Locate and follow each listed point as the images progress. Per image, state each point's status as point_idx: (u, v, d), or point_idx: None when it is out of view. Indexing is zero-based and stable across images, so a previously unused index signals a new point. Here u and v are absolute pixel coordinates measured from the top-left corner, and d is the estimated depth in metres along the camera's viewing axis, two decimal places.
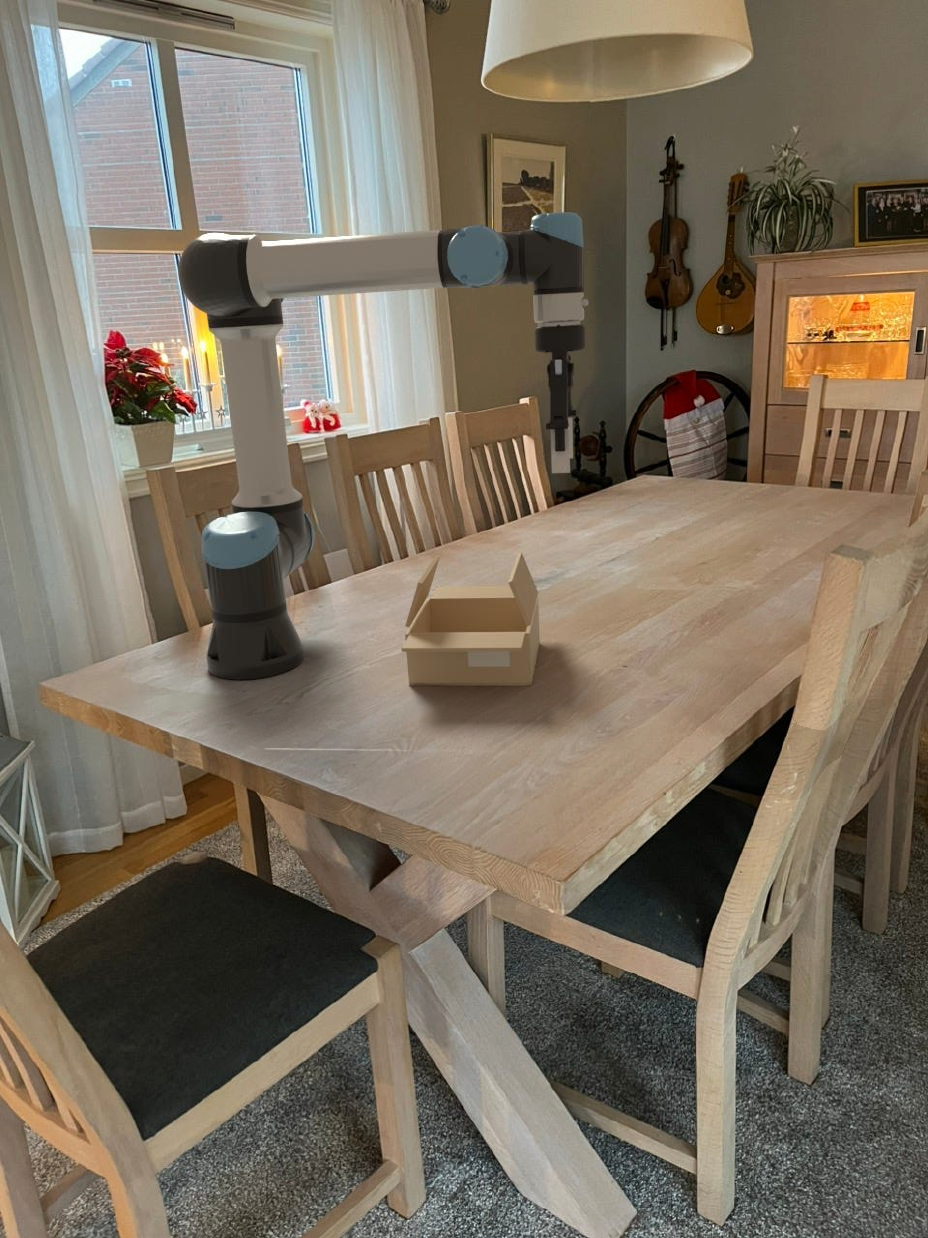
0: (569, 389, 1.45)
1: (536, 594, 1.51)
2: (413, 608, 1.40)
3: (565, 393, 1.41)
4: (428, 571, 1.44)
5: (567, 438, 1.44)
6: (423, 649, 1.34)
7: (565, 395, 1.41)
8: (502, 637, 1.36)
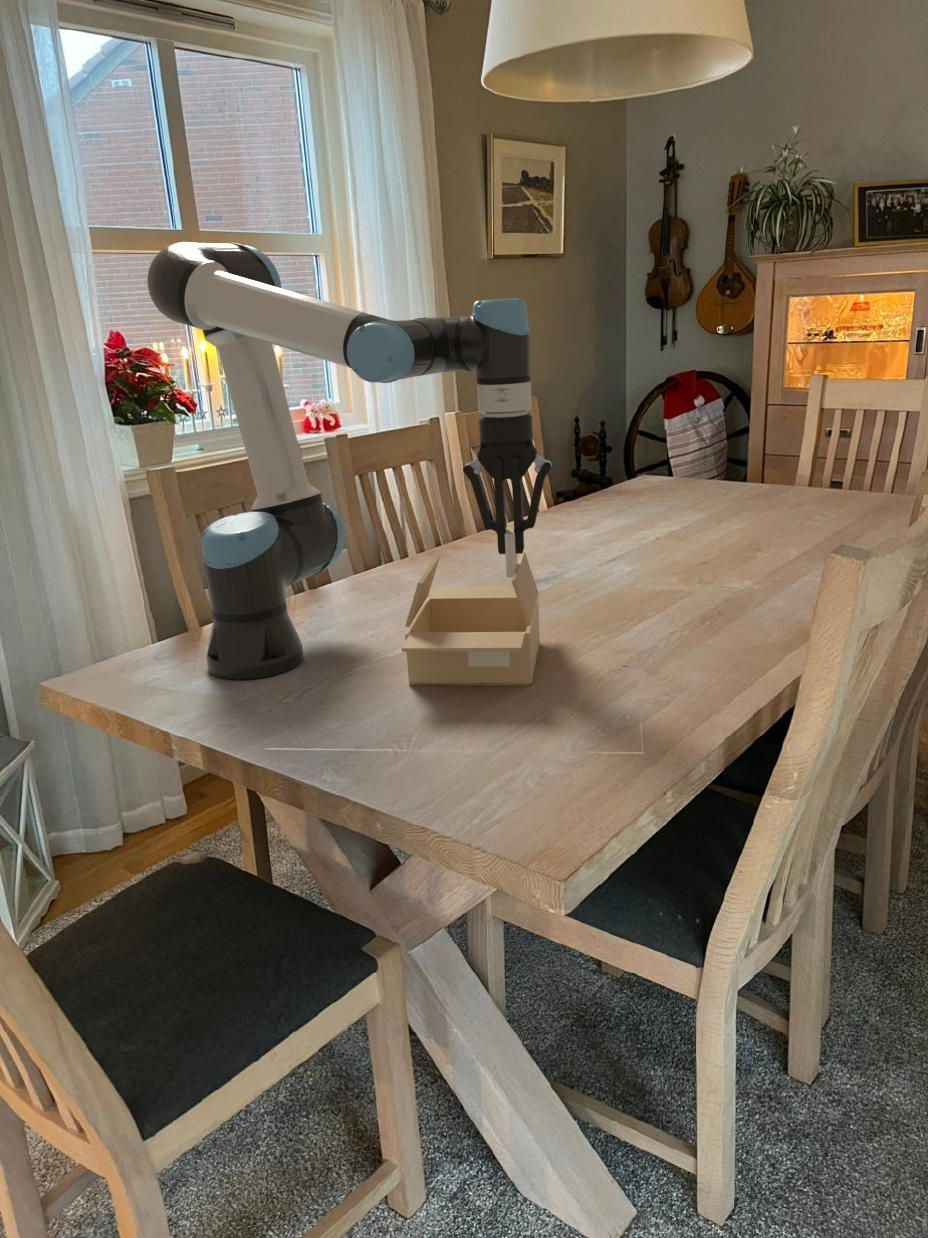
0: (499, 487, 1.39)
1: (536, 594, 1.51)
2: (413, 608, 1.40)
3: (476, 499, 1.40)
4: (428, 571, 1.44)
5: (505, 543, 1.42)
6: (423, 649, 1.34)
7: (477, 501, 1.40)
8: (502, 637, 1.36)
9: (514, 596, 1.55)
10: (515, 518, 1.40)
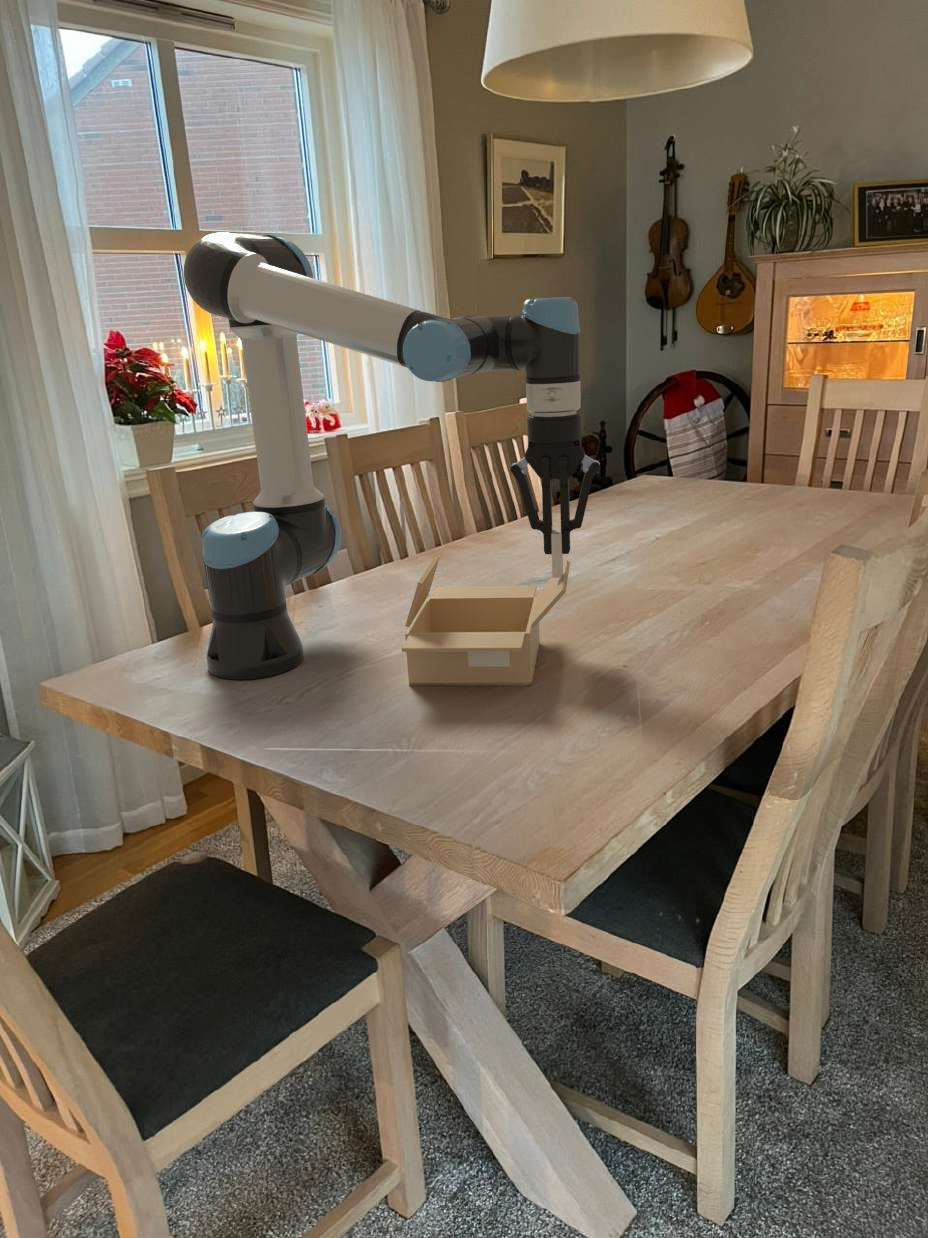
0: (547, 486, 1.38)
1: None
2: (413, 608, 1.40)
3: (523, 499, 1.39)
4: (428, 571, 1.44)
5: (551, 543, 1.41)
6: (423, 649, 1.34)
7: None
8: (502, 637, 1.36)
9: (514, 596, 1.55)
10: (562, 518, 1.39)
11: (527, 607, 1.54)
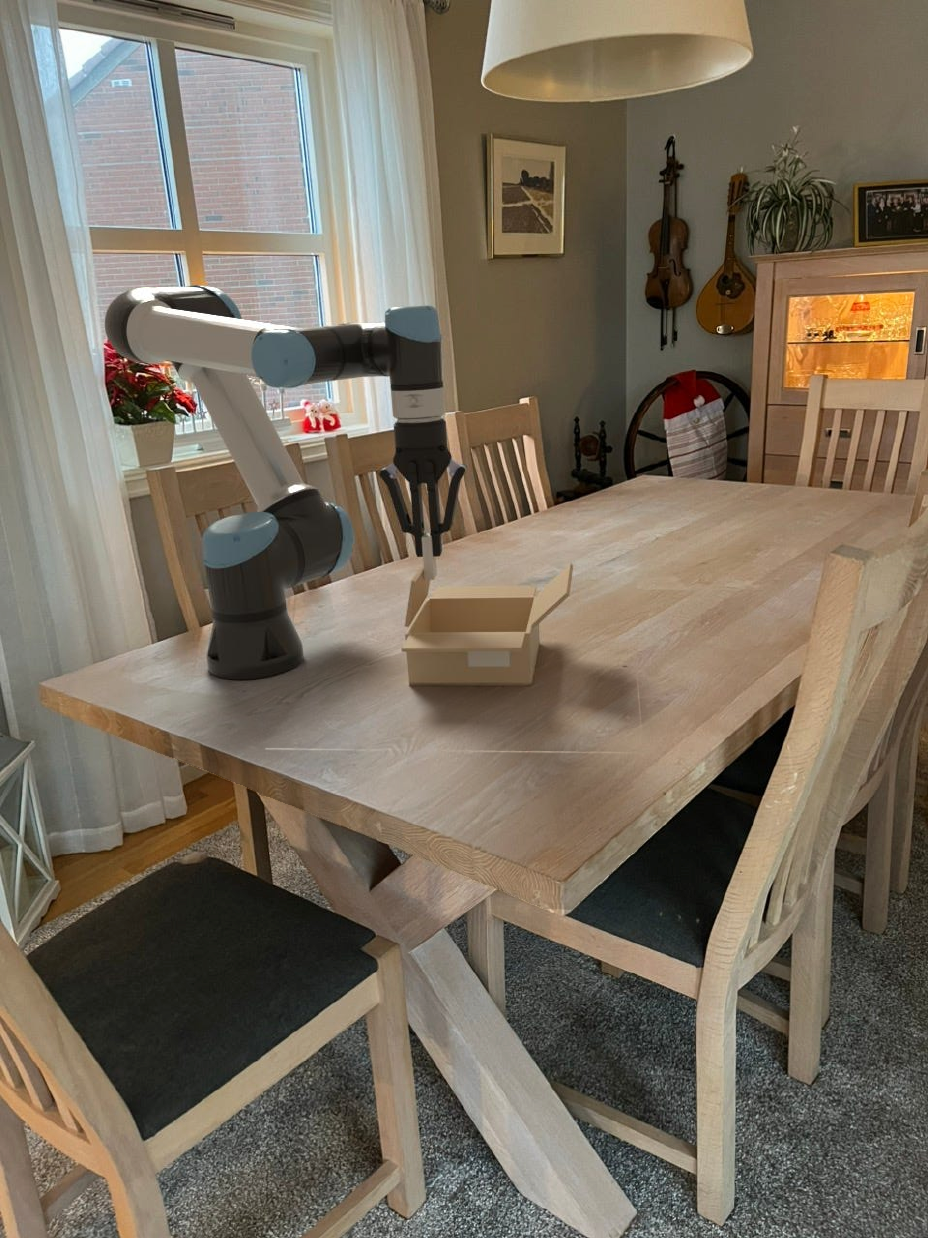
0: (415, 491, 1.41)
1: None
2: (410, 607, 1.40)
3: (393, 503, 1.42)
4: (422, 569, 1.44)
5: (422, 546, 1.44)
6: (423, 649, 1.34)
7: (394, 505, 1.42)
8: (502, 637, 1.36)
9: (514, 596, 1.55)
10: (431, 522, 1.42)
11: (527, 607, 1.54)
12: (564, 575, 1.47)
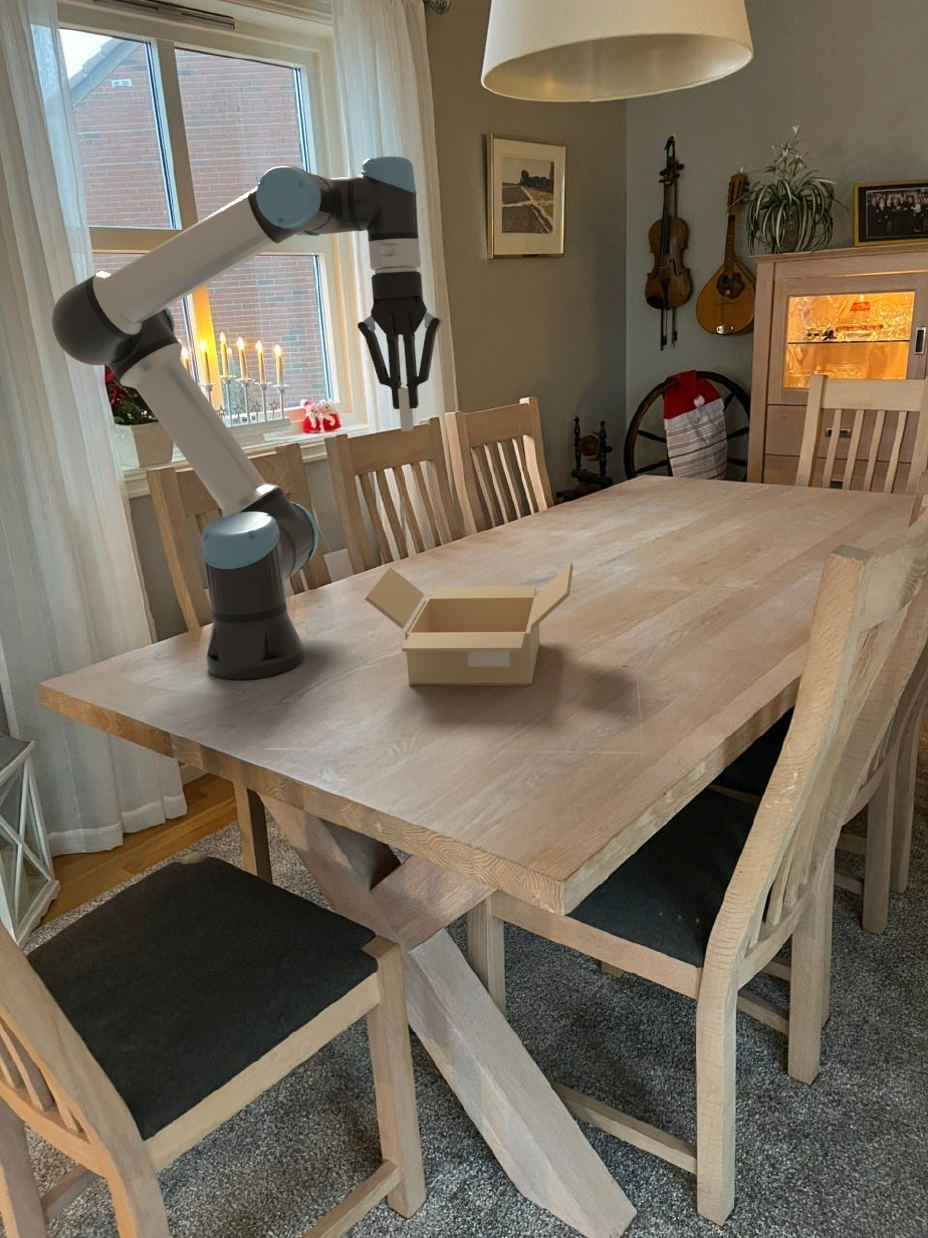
0: (391, 342, 1.47)
1: None
2: (387, 614, 1.40)
3: (371, 355, 1.49)
4: None
5: (398, 397, 1.50)
6: (423, 649, 1.34)
7: None
8: (502, 637, 1.36)
9: (514, 596, 1.55)
10: (407, 373, 1.49)
11: (527, 607, 1.54)
12: (564, 575, 1.47)
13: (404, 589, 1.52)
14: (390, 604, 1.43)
